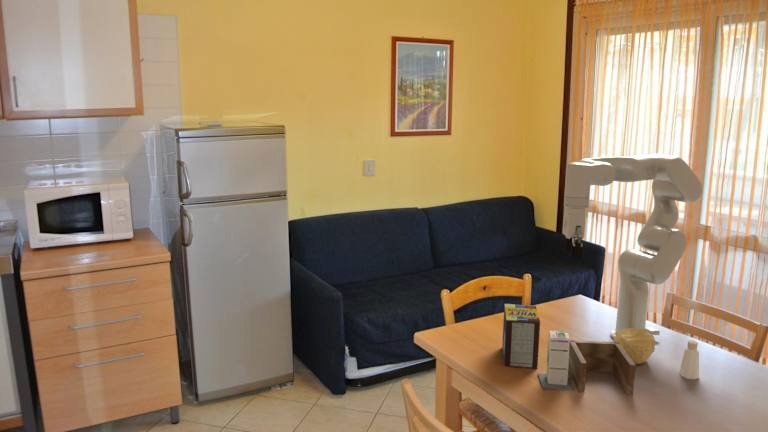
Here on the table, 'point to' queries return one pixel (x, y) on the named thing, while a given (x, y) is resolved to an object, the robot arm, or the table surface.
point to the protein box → (521, 336)
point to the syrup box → (558, 357)
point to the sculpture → (636, 344)
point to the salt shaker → (690, 361)
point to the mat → (552, 386)
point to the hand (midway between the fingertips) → (572, 254)
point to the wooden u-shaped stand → (600, 362)
